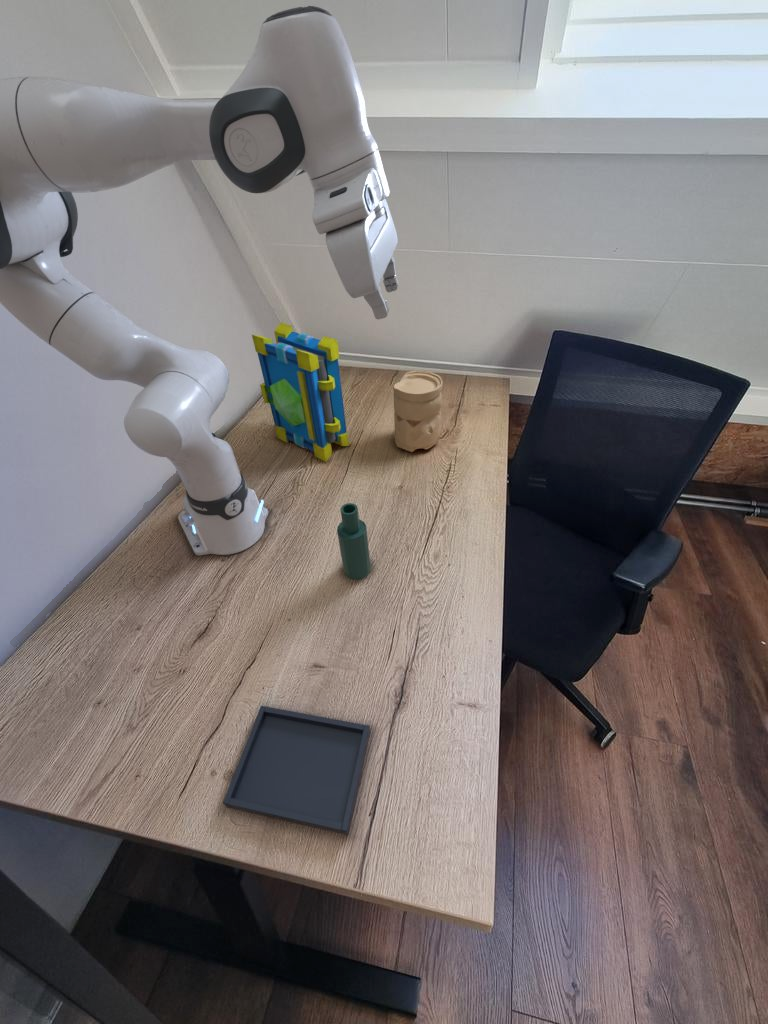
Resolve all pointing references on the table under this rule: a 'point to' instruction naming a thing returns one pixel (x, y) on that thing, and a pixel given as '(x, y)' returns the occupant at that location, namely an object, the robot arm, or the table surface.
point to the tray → (300, 769)
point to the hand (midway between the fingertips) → (388, 302)
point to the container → (417, 410)
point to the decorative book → (303, 389)
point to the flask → (353, 543)
